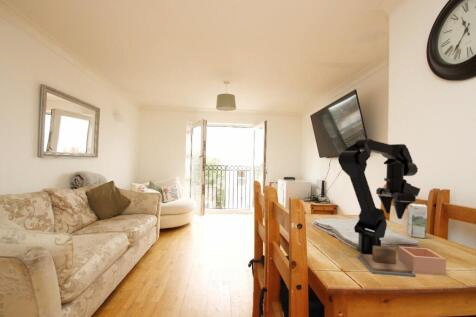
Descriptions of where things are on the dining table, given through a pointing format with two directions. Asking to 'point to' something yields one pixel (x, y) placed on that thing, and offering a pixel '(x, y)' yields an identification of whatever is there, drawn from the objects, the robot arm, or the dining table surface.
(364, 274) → the dining table surface
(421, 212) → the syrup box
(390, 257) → the walnut lid
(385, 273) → the rubber mat
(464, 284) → the dining table surface
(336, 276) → the dining table surface
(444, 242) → the dining table surface
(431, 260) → the pink open tray
